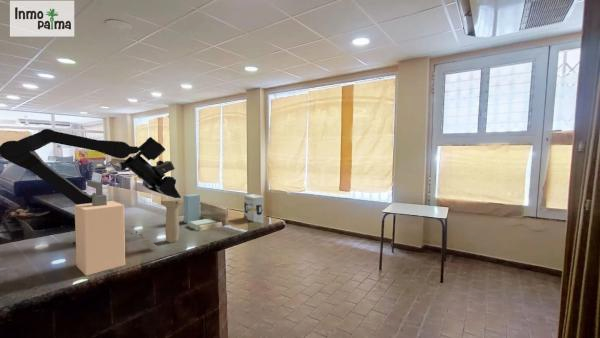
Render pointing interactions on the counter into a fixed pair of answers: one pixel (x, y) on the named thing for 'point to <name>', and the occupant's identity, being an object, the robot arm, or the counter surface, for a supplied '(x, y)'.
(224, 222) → the rack
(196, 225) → the pale green block
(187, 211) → the light blue block
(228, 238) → the counter surface
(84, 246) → the soap dispenser
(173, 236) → the handle
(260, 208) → the ink box
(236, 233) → the counter surface
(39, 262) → the counter surface
